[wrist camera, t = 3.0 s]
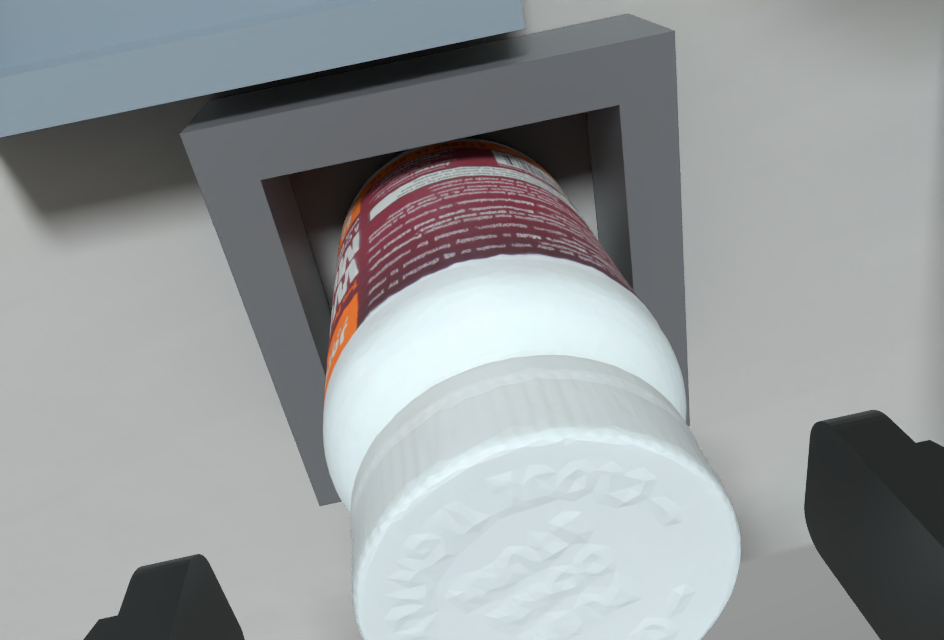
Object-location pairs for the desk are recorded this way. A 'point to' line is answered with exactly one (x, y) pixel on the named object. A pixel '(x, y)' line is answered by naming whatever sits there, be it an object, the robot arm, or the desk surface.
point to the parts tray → (204, 47)
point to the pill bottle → (510, 419)
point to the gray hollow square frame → (428, 122)
